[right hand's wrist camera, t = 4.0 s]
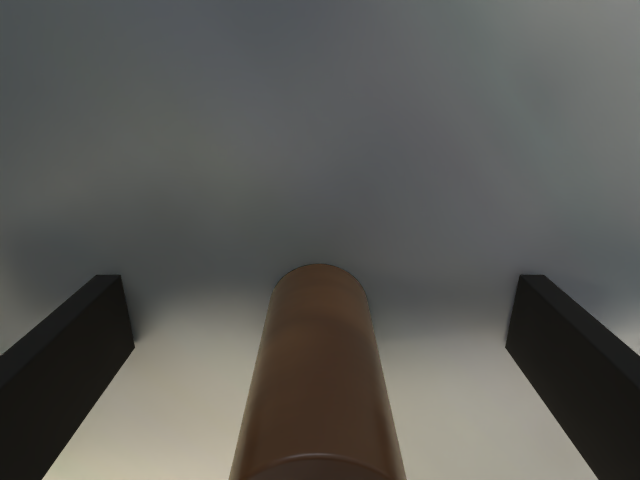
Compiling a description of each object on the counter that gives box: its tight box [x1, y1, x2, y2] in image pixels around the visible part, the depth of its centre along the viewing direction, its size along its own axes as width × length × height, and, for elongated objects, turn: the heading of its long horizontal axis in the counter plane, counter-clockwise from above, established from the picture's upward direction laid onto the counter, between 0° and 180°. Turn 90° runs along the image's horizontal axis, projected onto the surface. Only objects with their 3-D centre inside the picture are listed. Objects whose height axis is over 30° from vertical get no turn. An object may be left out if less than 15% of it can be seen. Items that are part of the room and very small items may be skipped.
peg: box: [229, 264, 407, 480], centre depth 10 cm, size 3×3×7 cm
